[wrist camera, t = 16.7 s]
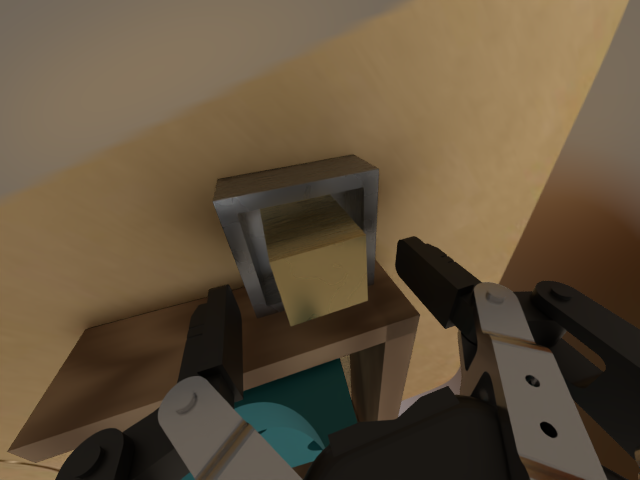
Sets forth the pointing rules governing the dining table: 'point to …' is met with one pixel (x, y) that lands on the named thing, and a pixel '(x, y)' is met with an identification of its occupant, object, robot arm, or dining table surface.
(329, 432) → the teal l-shaped bracket
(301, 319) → the key block
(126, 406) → the bracket
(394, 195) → the dining table surface
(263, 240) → the tray
